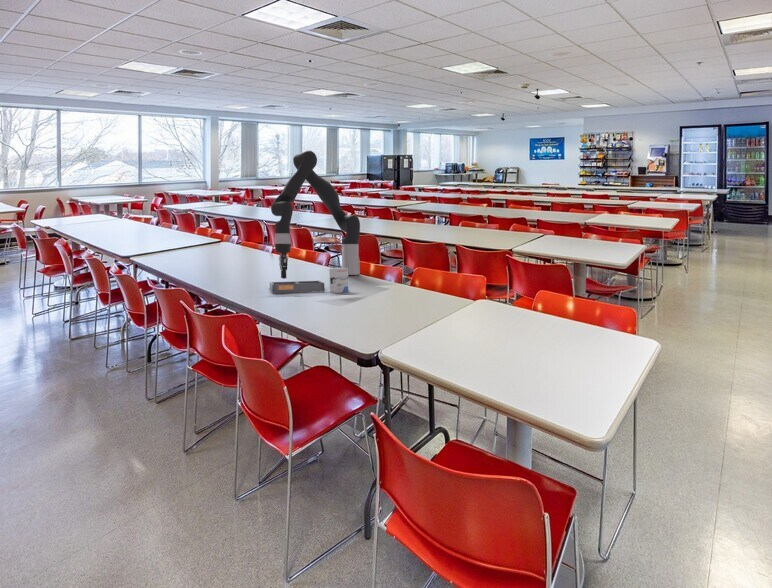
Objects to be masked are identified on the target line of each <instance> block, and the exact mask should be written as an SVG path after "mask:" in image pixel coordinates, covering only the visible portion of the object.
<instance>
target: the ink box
mask: <svg viewBox="0 0 772 588" xmlns="http://www.w3.org/2000/svg"><path fill="white" fill-rule="evenodd" d="M344 291H346V292H349V275H348V268H342V267H337V268H336V267H335V268H334V267H333V268H331V267H330V268H329V293H333V294H339V293H345V292H344Z"/></svg>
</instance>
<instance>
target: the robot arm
mask: <svg viewBox="0 0 772 588" xmlns="http://www.w3.org/2000/svg"><path fill="white" fill-rule="evenodd" d="M292 158H293V159H292V161H293V165H294V167H295V169H296V172H295V173H294V174H293V175H292V176H291V177H290V178H289V179H288V180H287V182H286V183H285V185H284V188H283V189H282V190H281V193H280V194H279V195H278V196H277V197H276V198H275V200H274V201H273V202H272V204H271V207H270V210H271V213H272V215H273V216H275V217H280V219H279V220H278V221H276V222H275V223H274V233H275V234H274V252H275V253H277V254H279V256H278V261H279V263H278V265H279V270H280V278H281V279H284V280H285V279H287V271H288V266H289V264H288V263H289V262H288V261H289V257H288V256H287V254H288V253H289V254H290V253H291V251H292V250H291V249H292V245H291V244H292V242H291V239H292V238H291V229H290V228H291V227H290V226H291V222H292V216H293V214H294V213H293V212H294V210H293V209H294V208H293V205H292V202H295V200H296V198H297V196H298V194H299V192H300V190H301V188H302V186H303V184H304V183H305V181H307V183H308V184H309V185H310V187H311V188H312V189H313V190H314V192H315V193H316V194H317V196H318V197H319V199H320V201H322V204H324V206H325V207H326V208H327V210H328V211H329V212H330V214H331V216H332V217H333V219H334V221H335V223H336V224H337V226H338V228H339V229H340V230H341V231H343V232H345V233H346V235H344V238H342V239H341V268H348V276H353V275H354V276H357V275H361V274H360V273H361V271H360V267H361V266H360V264H361V263H360V256H359V240H360V239H361V238H360V237H361V234H360V233H361V222H360V219H359V217H358V216H357V215H354V214H347V213H346V212H345V211H344V210H343V208H342V207H341V201H340V197H339V194H338V192H337V190H336V189H335V188H334V186H333V185H332V184H331V183H330V182H329V181H327V180H326V179H325V178H323V177H322V176H321V175H318V174H317V173H316V171H314V169H315V168H316V166H317V163H318V157H317V155H316V154H315V152H314V151H312V150H304V151H301V152H299V153H297V154H295V155H294V156H293V157H292Z"/></svg>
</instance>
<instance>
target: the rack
mask: <svg viewBox="0 0 772 588" xmlns="http://www.w3.org/2000/svg"><path fill="white" fill-rule="evenodd" d="M270 289H271V290H270ZM269 290H270V291H271V294H272V295H274V294H276V295H277V294H294V293H300V292H303V293H309V292H312V291H317V292H321V291H325V282H323V281H321V280H303V281H301V280H300V281H270V282H269Z"/></svg>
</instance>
